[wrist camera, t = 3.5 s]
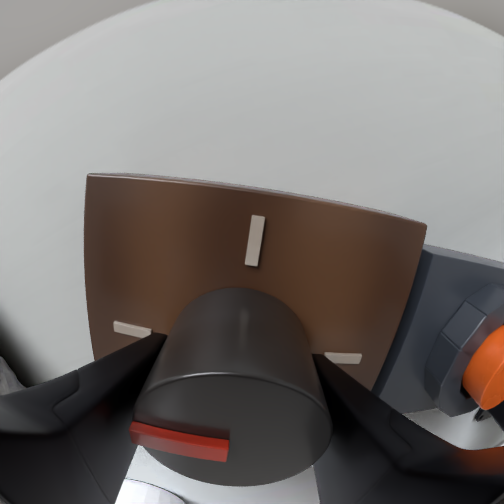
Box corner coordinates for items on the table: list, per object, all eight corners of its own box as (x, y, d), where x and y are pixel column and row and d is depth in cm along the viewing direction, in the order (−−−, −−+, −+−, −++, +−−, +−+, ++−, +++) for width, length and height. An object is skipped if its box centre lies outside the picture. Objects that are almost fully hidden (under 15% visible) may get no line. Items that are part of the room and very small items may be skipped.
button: (521, 323, 8) (542, 339, 7) (491, 384, 9) (507, 402, 7) (484, 324, 8) (509, 344, 6) (449, 393, 9) (467, 417, 7)
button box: (517, 266, 11) (559, 287, 8) (473, 375, 13) (502, 408, 9) (403, 239, 11) (459, 266, 7) (354, 387, 13) (377, 441, 9)
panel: (389, 212, 11) (431, 225, 8) (331, 400, 13) (345, 443, 10) (124, 172, 10) (83, 173, 7) (126, 373, 13) (103, 412, 10)
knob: (320, 296, 8) (369, 390, 4) (289, 401, 9) (303, 497, 5) (174, 276, 8) (112, 359, 4) (171, 386, 9) (140, 478, 5)
